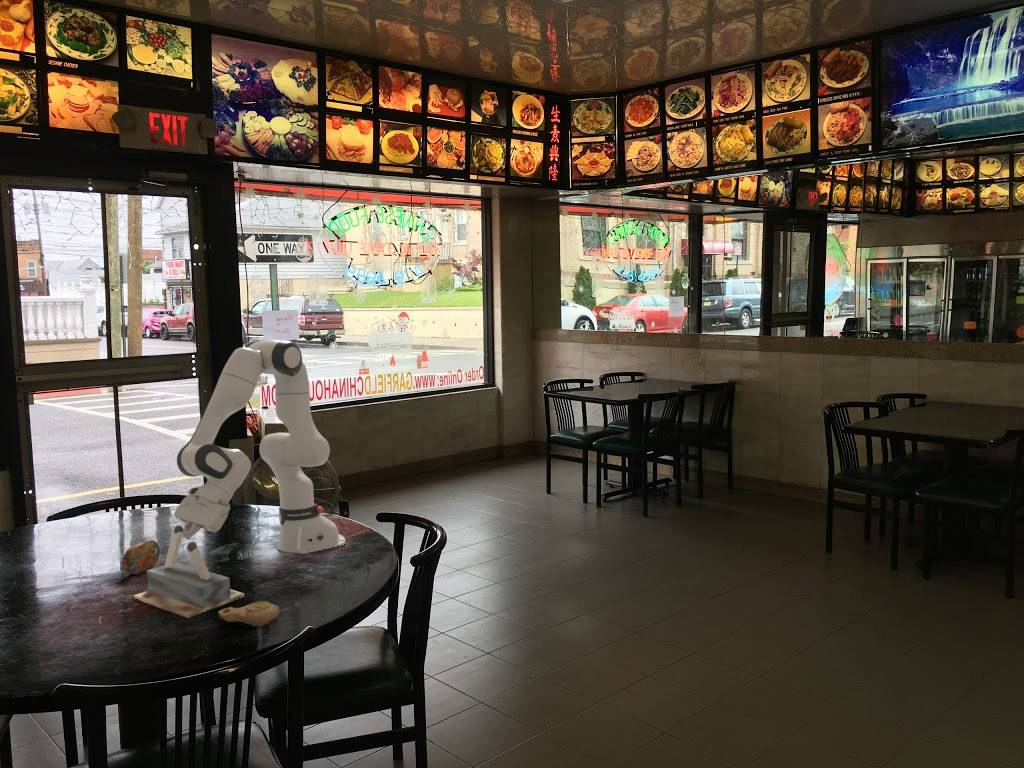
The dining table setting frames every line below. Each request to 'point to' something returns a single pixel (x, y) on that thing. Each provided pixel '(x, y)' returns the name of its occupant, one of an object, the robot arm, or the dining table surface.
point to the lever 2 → (198, 561)
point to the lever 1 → (174, 546)
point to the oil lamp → (251, 613)
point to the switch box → (186, 590)
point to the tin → (141, 557)
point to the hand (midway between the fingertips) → (184, 537)
